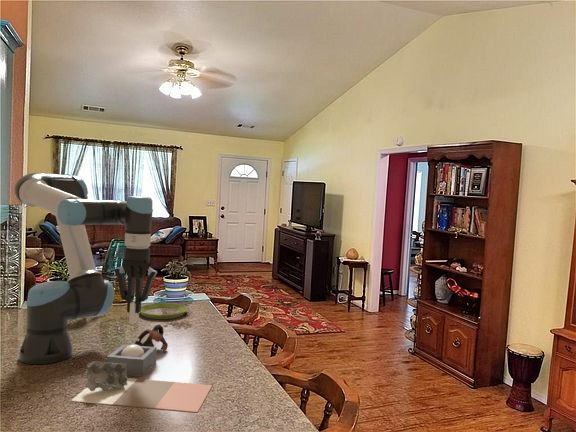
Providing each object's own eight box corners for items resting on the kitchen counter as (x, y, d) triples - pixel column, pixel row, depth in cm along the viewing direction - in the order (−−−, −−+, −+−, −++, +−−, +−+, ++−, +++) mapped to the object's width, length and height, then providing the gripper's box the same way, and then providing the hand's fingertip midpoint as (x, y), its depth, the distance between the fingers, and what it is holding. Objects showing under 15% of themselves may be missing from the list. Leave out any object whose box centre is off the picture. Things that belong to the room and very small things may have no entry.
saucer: (180, 323, 188) (180, 316, 187) (131, 320, 188) (131, 313, 188) (191, 311, 208) (191, 304, 208) (147, 308, 208) (147, 301, 208)
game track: (70, 401, 115) (70, 400, 115) (100, 376, 131) (100, 375, 131) (197, 412, 113) (197, 411, 113) (212, 385, 129) (212, 385, 129)
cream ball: (116, 370, 135) (117, 347, 135) (125, 362, 142) (126, 340, 142) (138, 372, 135) (139, 349, 134) (147, 364, 142) (148, 342, 141)
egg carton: (83, 391, 118) (88, 382, 116) (84, 367, 123) (89, 358, 122) (124, 393, 123) (129, 383, 122) (123, 370, 129) (128, 361, 127)
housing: (106, 373, 133) (107, 356, 133) (122, 359, 144) (123, 344, 144) (142, 376, 133) (143, 359, 132) (155, 362, 144) (156, 347, 143)
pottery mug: (164, 359, 150) (147, 345, 146) (144, 365, 154) (127, 352, 150) (175, 330, 159) (160, 316, 155) (157, 337, 163) (141, 323, 159)
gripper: (111, 246, 133) (106, 324, 135) (153, 250, 133) (149, 328, 134) (121, 243, 141) (118, 317, 142) (162, 247, 140) (158, 321, 141)
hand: (133, 322), depth 138 cm, fingers closed
